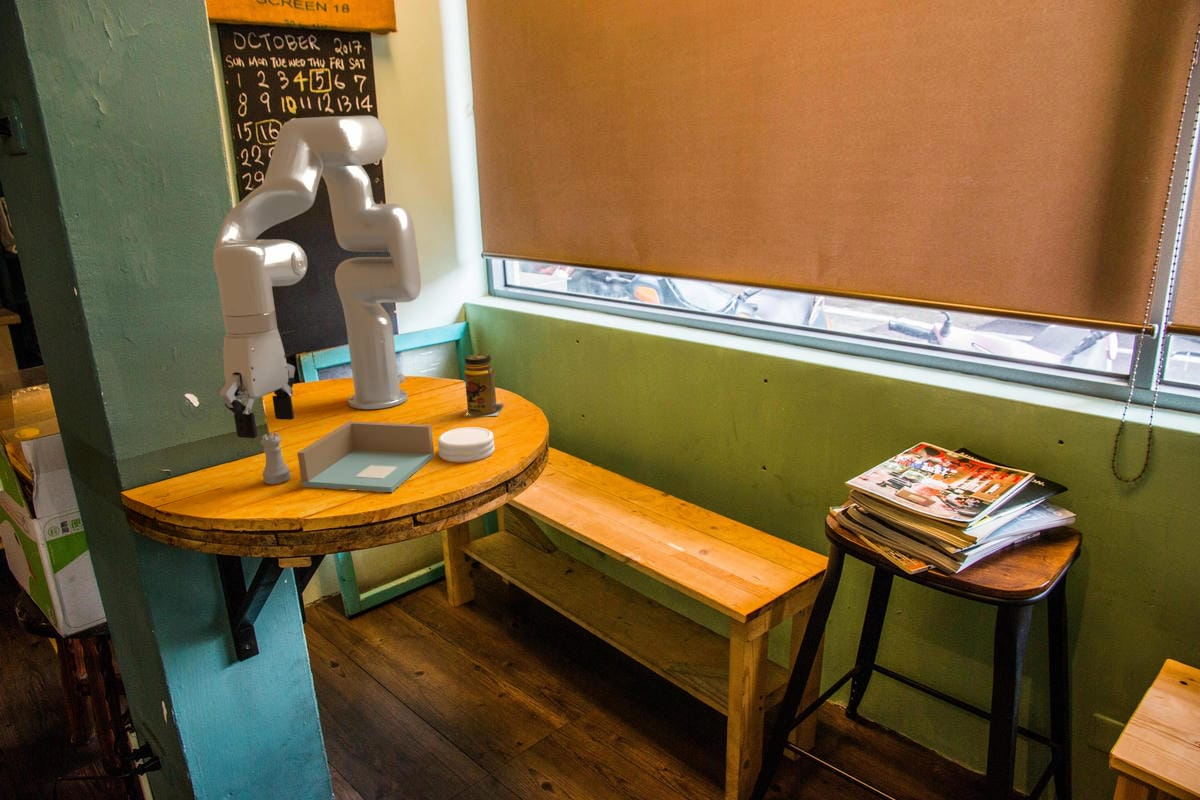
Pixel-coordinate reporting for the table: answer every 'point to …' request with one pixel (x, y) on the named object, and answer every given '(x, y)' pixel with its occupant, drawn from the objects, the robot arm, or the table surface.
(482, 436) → the white round container
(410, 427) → the corner arena
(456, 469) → the table surface
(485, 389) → the condiment
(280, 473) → the rook chess piece
